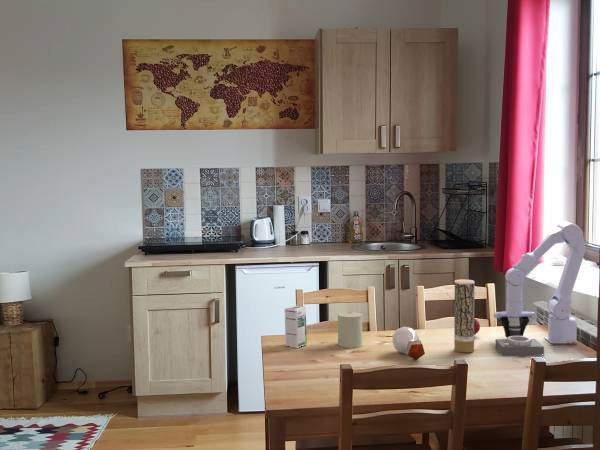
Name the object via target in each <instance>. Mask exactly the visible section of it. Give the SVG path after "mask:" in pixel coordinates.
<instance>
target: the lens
mask: <svg viewBox="0 0 600 450" xmlns="http://www.w3.org/2000/svg"><path fill="white" fill-rule="evenodd" d="M509 336H521V326H520V324H509Z"/></svg>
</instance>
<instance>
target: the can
mask: <svg viewBox="0 0 600 450" xmlns="http://www.w3.org/2000/svg"><path fill="white" fill-rule="evenodd" d="M338 345H339V346H338ZM337 346H338V347H340V346H341V347H340V348H343V347H345V349H355V347H357V348H360V346H361V347H362V346H363V313H361V312H359V311H341V312H339V313H337Z"/></svg>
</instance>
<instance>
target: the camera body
mask: <svg viewBox="0 0 600 450" xmlns="http://www.w3.org/2000/svg"><path fill="white" fill-rule="evenodd" d="M495 349H498V350H499V351H500V352H499V351H498V350H497V351H498V352H499V353H500V354H501V356H544V355H545V354H544V353H545V347H544V345H543V344H541V342H539V341H538V340H537V339H535V338H531V337H529V336H525V335H523V336H509V337H506V338H499V339H498V338H495ZM542 354H543V355H542Z"/></svg>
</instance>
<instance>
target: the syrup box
mask: <svg viewBox="0 0 600 450" xmlns="http://www.w3.org/2000/svg"><path fill="white" fill-rule="evenodd" d="M306 309H307V308H306V307H305V306H303V305H293V306H289V307H285V308H284V331H285V332H284V333H285V335H284V336H285V346H286V347H287V346H291V347H296V348H295V349H297V348H298V349H299V347H300V348H302V347H304V345H305V346H307V345H308V338H307V335H308V334H307V316H306V315H307V310H306ZM306 344H307V345H306ZM301 346H302V347H301ZM291 347H290V348H291Z"/></svg>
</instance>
